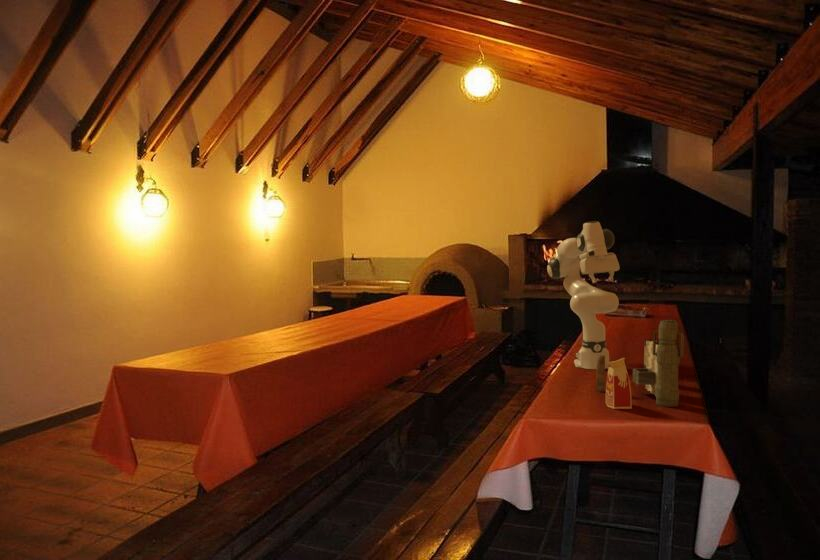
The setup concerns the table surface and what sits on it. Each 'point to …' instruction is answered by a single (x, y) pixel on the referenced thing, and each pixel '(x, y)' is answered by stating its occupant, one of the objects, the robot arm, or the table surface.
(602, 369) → the cylinder
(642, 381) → the bracket
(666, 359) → the thermos
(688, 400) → the table surface
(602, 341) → the robot arm
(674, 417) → the table surface
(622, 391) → the milk carton
